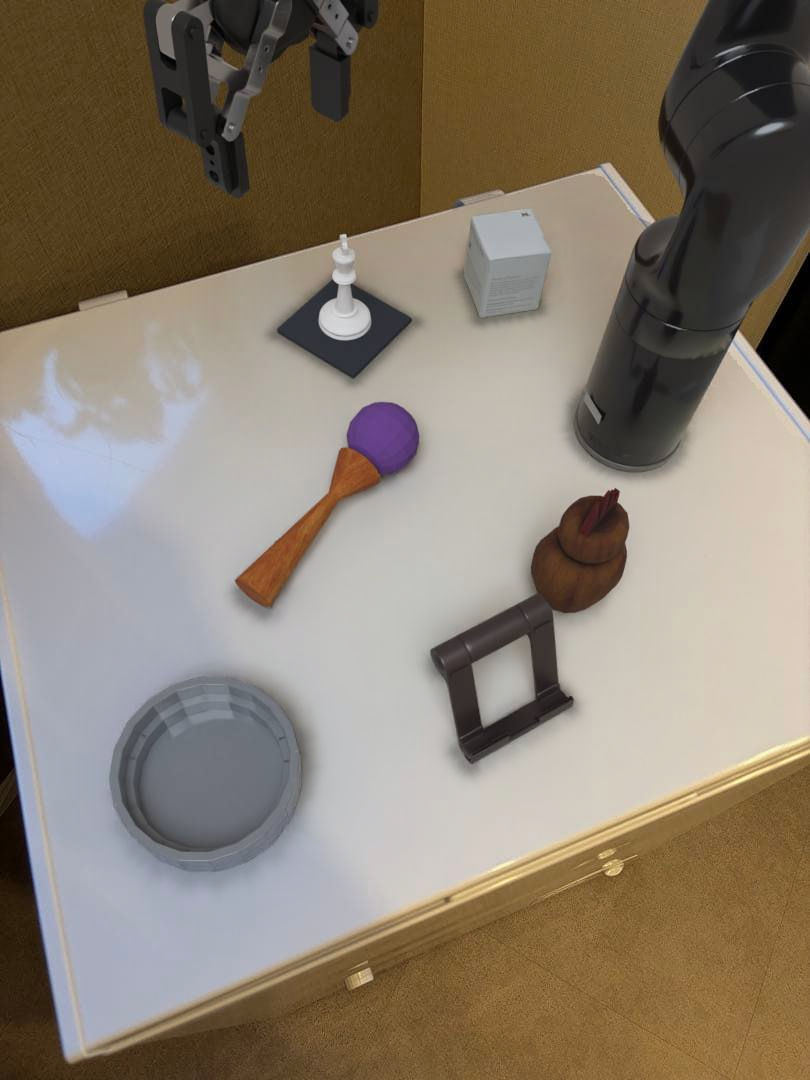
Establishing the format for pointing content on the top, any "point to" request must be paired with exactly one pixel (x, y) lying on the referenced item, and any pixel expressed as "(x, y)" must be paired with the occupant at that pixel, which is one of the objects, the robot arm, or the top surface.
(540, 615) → the tablet stand
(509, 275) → the product box
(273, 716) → the basin
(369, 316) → the chess piece
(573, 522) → the brown gourd
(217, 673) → the top surface
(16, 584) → the top surface
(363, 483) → the kendama
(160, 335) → the top surface
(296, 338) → the mat
